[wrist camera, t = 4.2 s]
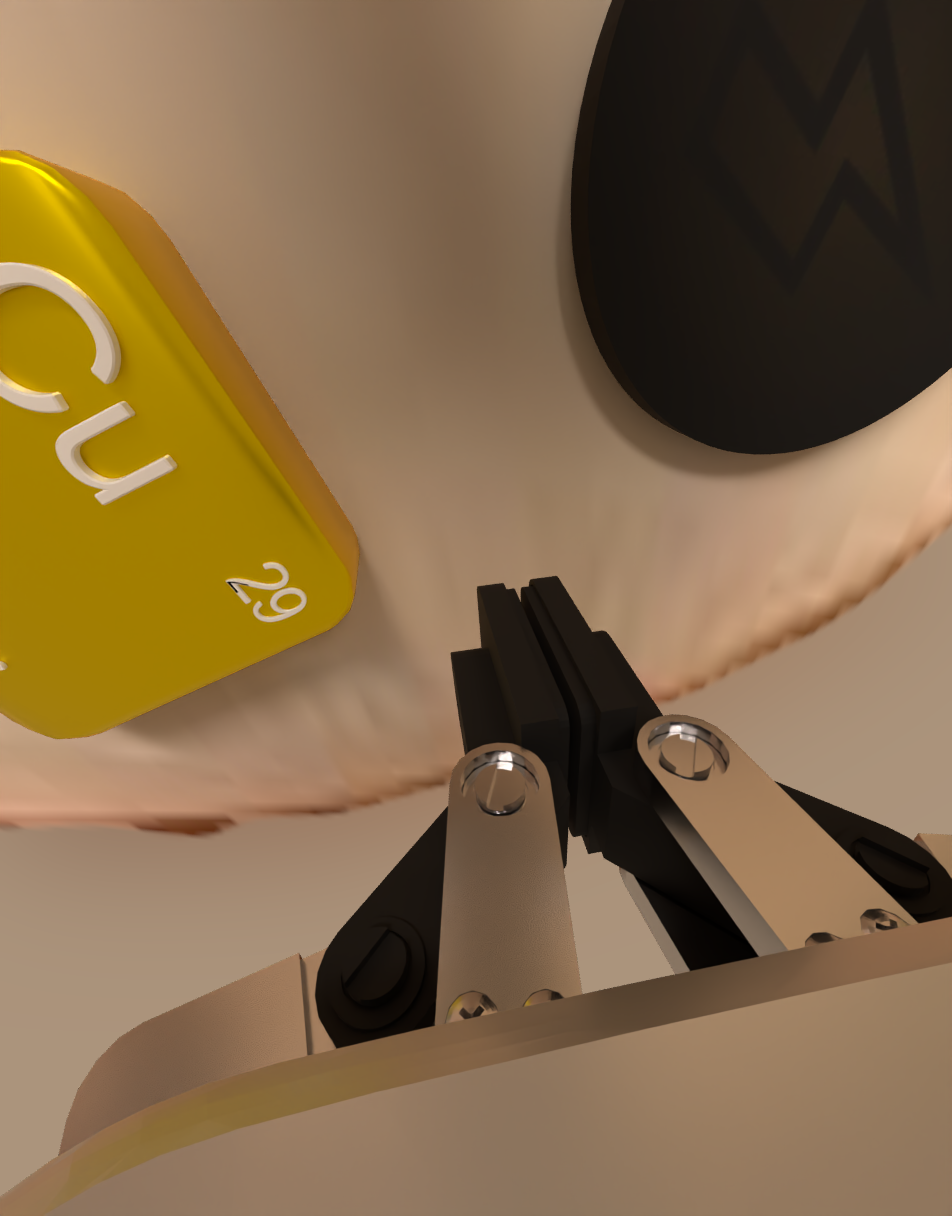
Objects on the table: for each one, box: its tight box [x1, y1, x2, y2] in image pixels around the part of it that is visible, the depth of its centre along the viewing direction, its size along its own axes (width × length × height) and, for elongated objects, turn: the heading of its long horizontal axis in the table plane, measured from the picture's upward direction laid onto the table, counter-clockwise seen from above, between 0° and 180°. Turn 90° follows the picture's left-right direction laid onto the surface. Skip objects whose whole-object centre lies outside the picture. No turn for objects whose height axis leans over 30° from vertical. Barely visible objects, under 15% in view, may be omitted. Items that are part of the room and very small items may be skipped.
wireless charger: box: [571, 0, 952, 454], centre depth 16 cm, size 18×18×2 cm
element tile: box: [0, 150, 360, 739], centre depth 17 cm, size 15×15×5 cm
